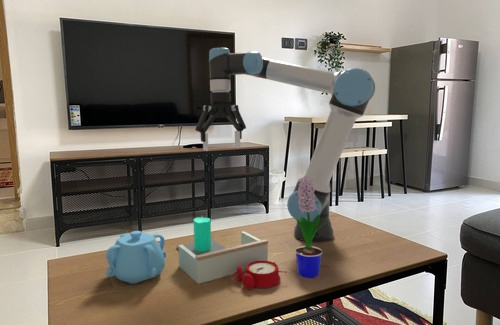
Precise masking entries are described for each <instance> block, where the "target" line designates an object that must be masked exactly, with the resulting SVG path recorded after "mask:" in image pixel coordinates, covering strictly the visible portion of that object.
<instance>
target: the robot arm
mask: <svg viewBox="0 0 500 325" xmlns="http://www.w3.org/2000/svg"><path fill="white" fill-rule="evenodd" d="M208 56H209V58H208V63H209V87H210V88H209V89H210V90H209V91H211V93H210V94H209V95H210V97H209V98H210V105H208V104H207V105H203V106H202V112H201V115H200V117H199V118H198V122H197V123H196V127H195V131H196V132H198V133H200V142H201V143H202V149H203V151H206V152H208V151H209V134H208V132H207V130H209V128H210V126H211V125H212V124H213V123H214V121H215V119H217V118H226V119H227V120H228V121H229V122H230V124H231V125H232V126H233V127H234V129H235V130H234V148H235V149H241V140H242V138H243V137H242V136H243V134H242V132H243V131H244V130H246V129H247V126H246V124H245V122H244V119H243V117H242V115H241V112H240V110H239V105H238V104H231V102H232V96H231V95H232V94H231V92H230V91H231V89H232V88H231V87H232V86H231V76H234V75H235V76H236V75H237V76H238V75H246V76H251V77H255V78H259V79H260V78H261V79H265V80H269V81H272V82H273V81H274V82H278V83H282V84H287V85H290V86H295V87H299V88H304V89H307V90H313V91H316V92H317V91H318V92H321V93H324V94H325V93H326V94H328V95H329V94H330V96H331V97H330V100H329V102H328V105H329V108H330V112H329V114H328V117H327V120H326V123H325V125H324V127H323V129H322V132H321V135H320V137H319V139H318V142H317V144H316V147H315V148H314V152H313V154H312V157H311V159H310V161H309V164H308V166H307V169H306V171H305V174H304V175H302V176H299V178H298V180H297V182H296V185H295V187H294V190H293V192H292V193H291V194H290V195H288V198H287V199H288V200H287V205H286V206H287V211H288V213H289V215H290V216H291V217H292V218H293V219H294V220H296V219H298V220H299V221H300V222H301V220H300V217H304V218H305V219H306V220H307V212H305V211H304V212H303V213H302V212H301V210H300V208H299V204H298V202H299V201H298V199H299V198H297V197H298V196H297V192H298V193H299V191H301V190H298V187H299V186H300V185H298V184H300V183H301V182H300V183H299V182H298V181H299V179H300V178H301V179H302V177H304V176H307V177H308V179H312V180H313V181H314V182H312V184H313V185H312V186H314V188H315V191H314V195H316V196H315V198H314V200H315V203H317V209H318V210H317V209H315V210H313V212H312V210H310V211H309V215H310V223H311V222H313V221H314V219H315V218H316V216H317V215H318V214H319V215H320V219H319V222H318V224H317V227H316V229H317V228H318V227H320V226H321V225H323V224H324V223H325V222H327V221H328V222H327V223H326V224H325V225H323V226H322V227H321V228H319V229H318V230H317V232H316V233H315V235H314V237H313V239H312V242H311V243H321V242H328V241H330V240H332V239H333V238H334V229H333V228H332V227H333V226H332V222H331V220H330V203H331V202H330V198H331V194H330V193H331V182H330V181H331V180H332V179H331V178H332V177H333V174H334V173H335V170H336V168H337V165H338V162H339V160H340V158H341V155H342V153H343V151H344V148H345V146H346V143H347V141H348V139H349V137H350V134H351V132H352V129H353V127H354V126H355V123H356V120H358V119H359V118H362V117H363V116H364V114H365V111H366V110H367V107H368V104H369V102H370V101H371V99H372V98H373V96H374V94H375V91H376V83H375V80H374V79H373V77H372V75H371V74H370V73H369V72H368V71H367V70H365V69H363V68H358V67H351V68H348V69H346V70H344V71H342V70H339V71H337V72H332V71H328V70H325V69H324V70H323V69H317V68H314V67H309V66H304V65H299V64H294V63H290V62H285V61H282V60H281V61H280V60H276V59H270V58H266V57H263V56H262V54H261V52H259V51H247V52H233V53H231V52H230V49H229V48H227V47H213V48H211V49H210V50H209V54H208ZM210 111H211V113H210V115H209V112H210ZM231 111H232V112H231ZM208 115H209V117H208ZM233 115H234V116H233ZM207 117H208V119H207ZM310 177H311V178H310ZM303 180H304V179H303ZM303 191H304V190H303ZM299 197H300V196H299ZM305 199H306V198H305ZM312 200H313V199H312ZM311 206H312V205H311ZM315 206H316V204H315ZM295 218H296V219H295ZM316 229H315V230H316ZM293 231H294V233H293V236H294V237H295V238H296V239H298V240H301V241H305V239H304V236H303V233H302V230H301V228H300V226H299V224H298V223H297V222H296V224H295V226H294V230H293Z"/></svg>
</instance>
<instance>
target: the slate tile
mask: <svg viewBox="0 0 500 325" xmlns="http://www.w3.org/2000/svg"><path fill="white" fill-rule="evenodd" d="M182 245H183V246H184V247H186V248H187V249H188V250H190V251H191V252H192V253H193V254H195V255H196V256H197V255H201V254H205V253H209V252H213V251H218V250H222V249H226V248H227V247H225V246H224V245H222V244H221V243H219V242H218V241H216V240H214V239H213V238H211V249H210V250H208V251H196V250H195V249H194V242H190V243H185V244H182ZM176 249H177V250H178V251H179V245H176Z"/></svg>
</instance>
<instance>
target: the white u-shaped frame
mask: <svg viewBox="0 0 500 325" xmlns="http://www.w3.org/2000/svg"><path fill="white" fill-rule="evenodd" d="M240 233H241V234H240V235H241V236H240V242H241V244H239V245H236V246H231V247H225V248H226V249H222V250H218V251H213V252H209V253H205V254H201V255H197V256H196V255H195V254H193V253H192V252H191V251H190V250H188V249H187V248H186V247H184V246H183V245H184V244H179V245H178V246H179V250H178V266H179V268H180V269H181V270H183V272H185V274H187V275H188V277H190V278H192V280H193V281H194V282H196V283H197V285H199V284H202V283H206V282H210V281H213V280H216V279H221V278H224V277H228V276H231V275H233V274H235V273H236V272H237V268H238V266H242V272H246V266H247V265H248V264H249V263H251V262H254V261H268V252H269V250H268V247H269V246H268V244H269V240H267V239H265V238H263V239H260V238H258V237H256V236H254V235H252V234H250V233H248V232H247V231H241V232H240Z"/></svg>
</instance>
